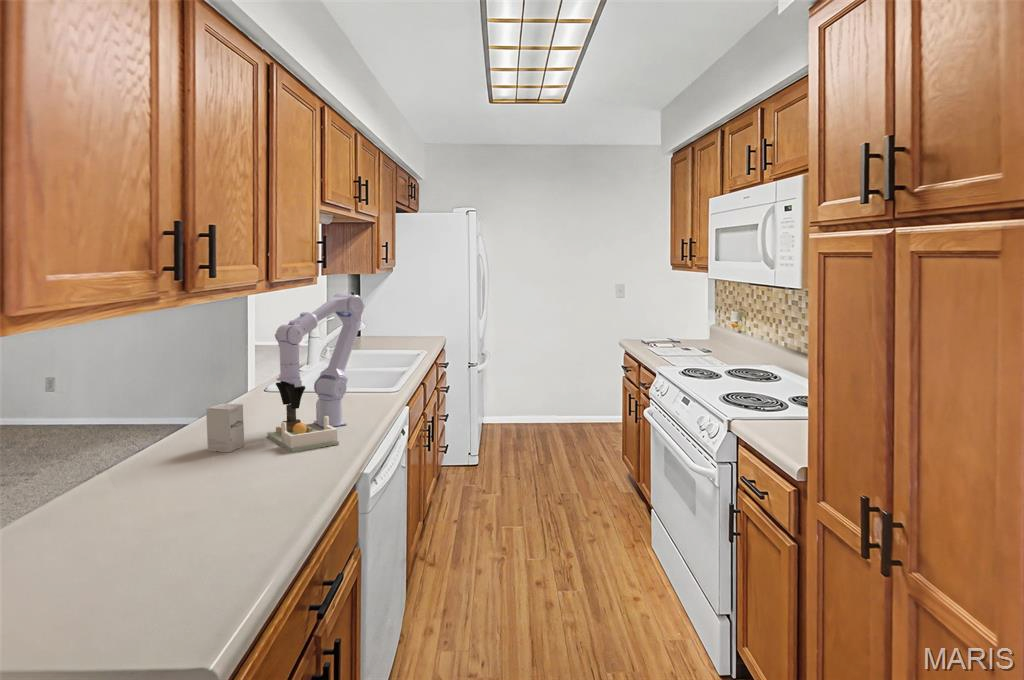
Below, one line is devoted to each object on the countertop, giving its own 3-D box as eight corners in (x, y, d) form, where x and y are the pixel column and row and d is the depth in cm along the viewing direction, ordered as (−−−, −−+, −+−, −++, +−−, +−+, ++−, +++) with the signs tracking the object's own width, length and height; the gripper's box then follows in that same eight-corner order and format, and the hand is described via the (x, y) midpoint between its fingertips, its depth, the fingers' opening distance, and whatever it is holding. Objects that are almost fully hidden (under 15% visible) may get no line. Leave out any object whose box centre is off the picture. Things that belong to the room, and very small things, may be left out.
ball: (291, 435, 210) (290, 422, 209) (303, 433, 212) (303, 420, 212) (295, 438, 207) (295, 425, 206) (308, 436, 209) (308, 423, 208)
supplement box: (230, 453, 194) (228, 409, 193) (207, 451, 196) (205, 408, 194) (245, 446, 201) (243, 403, 200) (222, 444, 203) (220, 402, 201)
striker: (282, 430, 214) (281, 405, 213) (298, 428, 217) (297, 403, 216) (285, 432, 212) (284, 406, 211) (301, 429, 215) (300, 404, 214)
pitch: (266, 436, 212) (265, 414, 211) (311, 429, 221) (311, 408, 220) (291, 452, 195) (290, 428, 194) (339, 444, 204) (339, 421, 203)
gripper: (269, 361, 216) (270, 403, 217) (284, 367, 204) (286, 412, 206) (291, 359, 220) (292, 401, 221) (307, 365, 208) (309, 409, 210)
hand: (290, 406), depth 214 cm, fingers open, 7 cm apart
